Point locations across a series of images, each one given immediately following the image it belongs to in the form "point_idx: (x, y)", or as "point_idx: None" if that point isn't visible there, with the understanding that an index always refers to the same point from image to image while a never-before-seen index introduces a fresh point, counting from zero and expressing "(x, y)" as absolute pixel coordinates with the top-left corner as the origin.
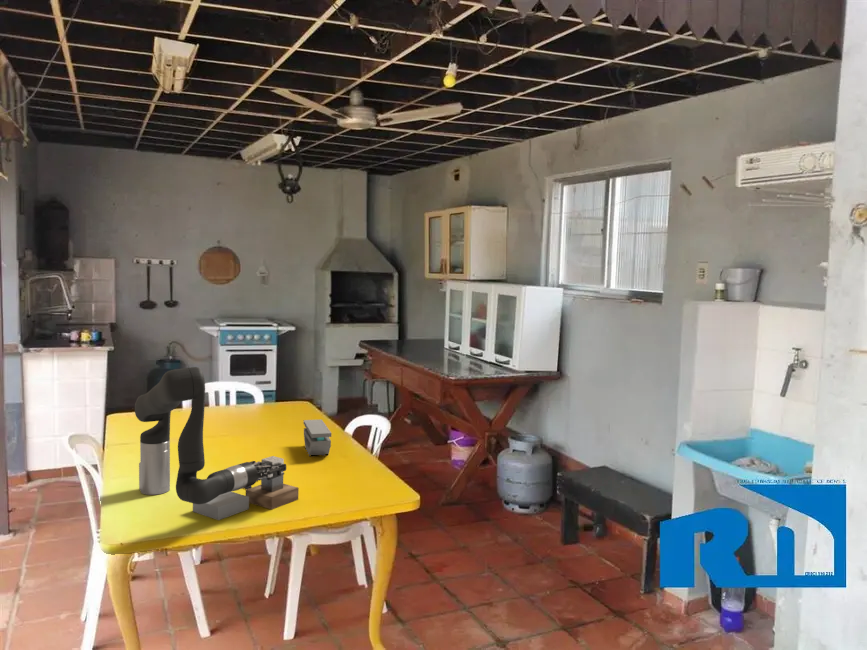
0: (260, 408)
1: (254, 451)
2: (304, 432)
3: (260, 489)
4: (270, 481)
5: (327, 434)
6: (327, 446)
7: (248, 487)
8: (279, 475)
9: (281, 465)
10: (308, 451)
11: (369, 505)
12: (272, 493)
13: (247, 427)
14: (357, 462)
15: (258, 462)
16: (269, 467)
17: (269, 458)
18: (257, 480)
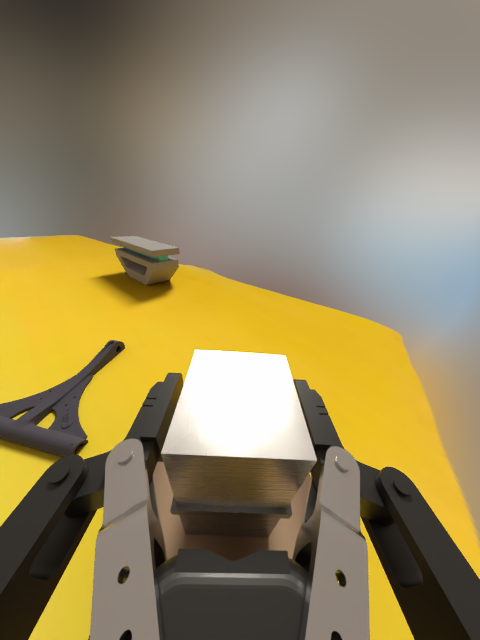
0: (28, 240)
1: (40, 291)
2: (119, 254)
3: (185, 544)
4: (266, 520)
5: (174, 250)
6: (174, 268)
7: (73, 452)
8: (395, 524)
9: (317, 411)
10: (142, 278)
11: (407, 372)
12: (288, 556)
13: (13, 258)
14: (219, 283)
15: (125, 469)
16: (364, 573)
17: (211, 393)
18: (88, 380)
